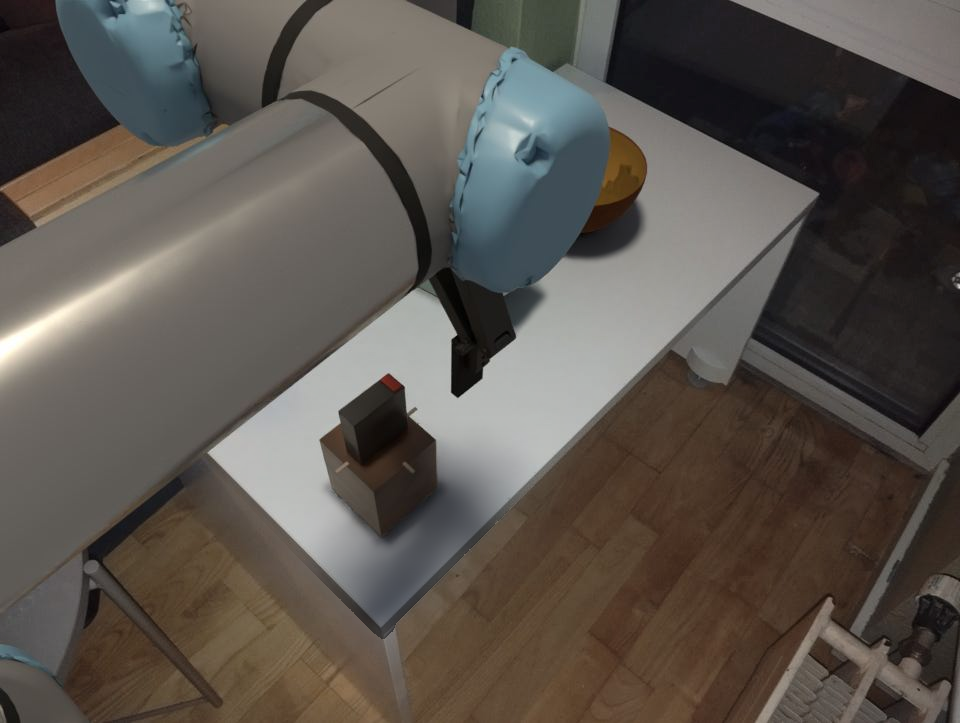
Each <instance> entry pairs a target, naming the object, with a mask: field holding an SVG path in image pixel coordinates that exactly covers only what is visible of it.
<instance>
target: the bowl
mask: <svg viewBox="0 0 960 723" xmlns="http://www.w3.org/2000/svg"><path fill="white" fill-rule="evenodd" d="M609 132H610V152H609V158H608V162H607V167H606V172H605V176H604V180H603V184H602V187H601V190H600V193H599V196H598V199H597V201H596V203H595V205H594V207H593V210H592V212H591V214H590V216H589V218H588V220H587V222H586V224H585V225H584V227H583V229H582V231H581V232H580V234H584V233H591V232H595V231H598V230H601V229H603V228H606V227H608V226H609V225H611V224H612V223H614V222H616V221H617V220H618V219H620V217H622V216H623V215H624V214H625V213H626V212H627V211H628V210H629V209H630V208H631V207H632V205H633V204H634V203H635V202H636V201H637V199H638V197H639V195H640V193H641V192H642V190H643V188H644V186H645V185H644V184H645V182H646V180H647V175H648V162H647V158H646V156H645V154H644V152H643V150H642V149H641V148H640V146H639V145H638V144H637V142H635V141H634V140H633V139H631V137H629V136H628V135H626V134H625V133H623V132H622V131H620V130H618V129H615V128H613V127H611V126H609Z"/></svg>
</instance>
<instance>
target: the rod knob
mask: <svg viewBox="0 0 960 723" xmlns="http://www.w3.org/2000/svg"><path fill="white" fill-rule="evenodd" d="M406 398H407V396H406V388H405V386H404V385H403V384H402V382H400V381H399V380H398V379H397V378H396V377H394V375H392V374H391V373H388V372H387V373H386V374H385V375H384V376H382V377H381V378H379V379H378V380H377V381H376V382H375V383H373V384H372V385H371V386H369V387H368V388H366V389H365V390H364V391H363V392H361V393H360V394H359V395H357V396H356V397H355V398H353V399H352V400H350V401H349V402H348V403H347V404H346V405H344V406H343V407H341V408H340V409H339V410H338V411H337V412H338V417H339V418H338V419H339V423H341V427H342V432H343V436H344V441H345V446H346V451H347V452H348V453H349V454H350V455H351V456H352V457H353V458H354V459H355V460H356V461H357V462H358V463H359V464H360V465H362V464H364V463H365V462H366V461H367V460H369V459H370V458H371V457H372V456H374V455H375V454H376V453H377V452H378V451H380V450H381V449H382V448H383V447H385V446H386V445H387V444H388V443H390V442H391V441H392V440H393V439H394V438H396V437H397V436H398V435H399V434H401V433H402V432H403V431H404V430H406V429H407V428H408V422H407V413H408V411H407V399H406Z"/></svg>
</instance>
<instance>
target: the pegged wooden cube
mask: <svg viewBox="0 0 960 723" xmlns="http://www.w3.org/2000/svg"><path fill="white" fill-rule="evenodd" d="M417 411H418V408H417V406H414V407H413V408H412V409H410V410H409V411H407V422H408V428H407V429H406V430H404V431H403V432H402V433H401V434H399V435H398V436H397V437H396V438H394V439H393V440H392V441H391V442H390V443H388V444H387V445H386V446H385V447H383V448H382V449H381V450H380V451H378V452H377V453H376V454H375V455H374V456H372V457H371V458H370V459H369V460H367V461H366V462H365V463H364V464H362V465H360V464H359V463H358V462H357V461H356V460H355V459H354V458H353V457H352V456H351V455H350V454H349V453H348V452H347V451H346V446H345V441H344V436H343V432H342V427H341V422H339V424H337V425H336V426H335V427H333V428H332V429H331V430H330V431H328V432H327V433H326V434H324V435H323V436H322V437H321V438H319V439H318V441H319V445H320V448H321V452H322V456H323V460H324V464H325V467H326V470H327V475H328V480H329V483H330V487H331V489H332V490H333V491H334V492H335V494H336V495H338V496H339V497H340V498H341V499H342V500H343V501H344V502H345V503H346V504H347V505H348V506H349V507H350V508H351V509H352V510H353V511H354V512H355V513H356V514H357V515H358V516H359V517H360V518H361V519H362V520H363V521H364V522H365V523H366V524H367V525H368V526H369V527H370V528H371V529H372V530H373V531H374V532H375V533H376V534H377V535H378V536H379V537H380V538H383V537H384V536H385V535H386V534H388V532H390V531H392V529H394V528H395V526H396V525H398V524H399V523H400V522H401V521H402V520H403V519H405V518H406V517H407V516H408V515H409V514H410V513H412V511H414V510H415V509H416V508H417V507H418V506H419V505H421V504H422V502H424V501H425V500H426V499H427V498H428V497H429V496H431V495H432V494H433V493H434V492H435V491H436V490H437V489H438V463H437V462H438V461H437V460H438V458H437V457H438V456H437V439H436V438H434V437H433V435H431V434H430V433H429V432H428V431H427V430H425V429H424V428H423V427H422V426H421V425H420V424H419V423H418V422H416V420H415V419H413V418H412V417H411V416H412V415H413V414H414V413H415V412H417Z"/></svg>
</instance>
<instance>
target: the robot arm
mask: <svg viewBox="0 0 960 723" xmlns="http://www.w3.org/2000/svg"><path fill="white" fill-rule="evenodd" d="M457 6H458V0H55V11H56V15H57V20H58V24H59V27H60V30H61V33H62V35H63V37H64V40H65V42H66V45H67V47H68V50H69V52H70V54H71V56H72V58H73V60H74V61H75V63H76V65H77V67H78V69H79V71H80V72H81V74H82V76H83V77H84V79H85V80H86V82H87V84H88V85H89V87H90V88H91V90H92V91H93V93H94V94H95V96H96V97H97V98H98V99H99V101H100V102H101V104H102V105H103V106H104V108H106V110H107V111H108V112H109V113H110V115H111V116H112V117H114V119H115V120H116V121H117V122H118V123H119V124H120V125H121V126H122V127H123V128H124V129H126V131H128V132H129V133H130V134H132V135H133V136H134V137H135V138H137V139H138V140H140V141H142V142H144V143H146V144H148V145H149V146H153V147H164V148H165V147H166V148H167V147H171V148H175V147H179V146H181V145H183V144H186V143H187V142H190V141H193V140H195V139H198V138H202V137H204V136H205V138H204V139H201V140H200V141H197V142H196V143H194V144H192V145H190V146H189V147H186V148H184V149H183V150H181V151H179V152H176V153H175V154H173V155H171V156H170V157H167V158H165V159H164V160H162V161H159V162H158V163H156V164H154V165H152V166H151V167H149V168H147V169H145V170H143V171H141V172H139V173H137V174H136V175H134V176H132V177H130V178H127V179H126V180H124V181H122V182H120V183H118V184H116V185H115V186H113V187H110V188H109V189H107V190H105V191H103V192H102V193H101V192H100V193H99V194H97V195H96V196H94V197H92V198H90V199H88V200H86V201H85V202H83V203H81V204H79V205H77V206H75V207H73V208H71V209H69V210H67V211H65V212H64V213H62V214H59V215H58V216H56V217H54V218H51V219H50V220H49V221H47V222H45V223H43V224H41V225H39V226H37V227H35V228H33V229H32V230H29V231H28V232H26V233H24V234H22V235H19V236H18V237H16V238H14V239H12V240H11V241H8V242H7V243H5V244H3V245H0V617H1V616H2V615H3V614H5V613H6V612H7V611H8V610H9V609H11V608H12V607H14V606H15V605H16V604H17V603H18V602H20V601H21V600H22V599H23V598H25V597H26V596H27V595H29V594H30V593H31V592H32V591H34V590H35V589H36V588H38V587H39V586H40V585H41V584H43V583H44V582H45V581H46V580H48V579H49V578H50V577H51V576H52V575H54V574H55V573H57V572H58V571H60V569H62V568H63V567H64V566H66V565H67V564H68V563H69V562H70V561H72V560H73V559H74V558H76V557H77V556H78V555H79V554H80V553H82V552H83V551H85V550H86V549H87V548H88V547H89V546H91V545H92V544H93V543H95V542H96V541H98V539H100V538H101V537H102V536H103V535H105V534H106V533H107V532H109V531H110V530H111V529H112V528H114V527H115V526H116V525H117V524H119V523H120V522H121V521H122V520H124V519H125V518H126V517H127V516H129V515H131V513H133V512H134V511H135V510H136V509H138V508H139V507H140V506H141V505H143V504H144V503H145V502H147V501H148V500H149V499H151V498H152V497H153V496H154V495H156V494H157V493H158V492H159V491H160V490H162V489H163V488H164V487H166V486H167V485H168V484H170V483H171V482H172V481H173V480H174V479H176V478H177V477H178V476H180V475H181V474H182V473H183V472H184V471H186V470H188V468H190V467H191V466H193V465H194V464H195V463H196V462H197V461H198V460H200V459H202V458H203V457H204V456H205V455H206V454H208V453H209V452H210V451H211V450H213V449H214V448H215V447H216V446H218V445H219V444H220V443H221V442H223V441H224V440H226V439H227V438H228V437H229V436H231V435H232V434H233V433H234V432H236V431H237V430H238V429H239V428H241V427H242V426H243V425H244V424H245V423H247V422H248V421H250V420H251V419H252V418H253V417H254V416H256V415H257V414H258V413H259V412H261V411H262V410H263V409H265V408H266V407H267V406H269V405H270V404H271V403H272V402H274V401H275V400H276V399H277V398H279V397H280V396H281V395H282V394H283V393H285V392H286V391H288V389H290V388H291V387H293V386H294V385H295V384H296V383H298V382H299V381H300V380H302V379H303V378H304V377H305V376H306V375H308V374H309V373H310V372H312V371H313V370H314V369H315V368H317V367H318V366H319V365H321V364H322V363H323V362H324V361H325V360H327V359H328V358H330V356H332V355H333V354H334V353H336V352H337V351H338V350H340V349H341V347H343V346H345V345H346V344H347V343H348V342H350V341H351V340H352V339H353V338H355V337H356V336H357V335H359V333H361V332H362V331H364V330H365V329H366V328H368V327H369V326H370V325H371V324H372V323H374V322H375V321H377V320H378V319H379V318H380V317H381V316H382V315H384V314H385V313H386V312H388V311H389V310H390V309H391V308H393V307H394V306H395V305H396V304H398V303H399V302H400V301H402V300H403V299H404V298H405V297H407V296H409V294H410V293H411V292H413V291H415V290H416V289H417V288H420V287H419V286H420V285H422V284H423V283H424V282H426V281H427V280H428V279H429V281H430V283H431V285H432V287H433V289H434V291H435V293H436V295H437V296H436V297H437V298H438V300H439V303H440V304H441V306H442V308H443V310H444V312H445V314H446V316H447V318H448V320H449V321H450V323H451V325H452V327H453V329H454V331H455V333H456V335H455V336H454V337H453V338H451V340H450V342H451V343H450V347H451V348H450V355H451V356H450V393H451V394H452V395H453V396H454V397H456V399H459V398H461V397H462V396H463V395H464V394H465V393H466V392H468V391H469V390H470V389H472V388H473V387H474V386H475V385H476V384H478V383H480V382H481V381H482V380H483V378H484V368H485V367H486V366H487V365H488V364H489V363H490V362H491V359H492V358H493V357H495V356H496V355H497V354H498V353H500V352H501V351H502V350H504V349H505V348H506V347H507V346H509V345H510V344H511V343H512V342H514V341H516V339H517V333H516V331H515V326H514V324H513V321H512V318H511V314H510V312H509V308H508V305H507V302H506V299H505V295H504V296H503V292H509V293H512V292H514V291H516V290H517V289H519V288H520V289H525V288H527V287H530V286H531V285H534V284H536V283H537V282H539V281H541V279H543V278H544V277H546V276H547V274H548V273H550V272H551V271H552V270H553V269H554V268H555V267H556V266H557V264H558V263H559V262H560V261H561V260H562V259H563V258H564V257H565V255H566V254H567V253H568V252H569V250H570V249H571V248H572V246H573V245H574V243H575V242H576V240H577V238H578V237H579V236H580V234H581V233H580V232H581V231H582V229H583V227H584V225H585V224H586V222H587V220H588V218H589V216H590V214H591V212H592V210H593V207H594V205H595V203H596V201H597V199H598V196H599V193H600V190H601V187H602V184H603V180H604V176H605V172H606V167H607V162H608V158H609V152H610V132H609V127H610V126H609V122H608V119H607V115H606V113H605V111H604V109H603V108H602V106H601V104H600V103H599V101H598V100H597V99H596V98H595V97H594V96H593V95H591V93H589V92H588V91H586V90H585V89H583V88H581V87H579V86H578V85H576V84H575V83H572V82H571V81H569V80H567V79H565V78H564V77H562V76H561V75H558V74H557V73H555V72H553V71H551V70H550V69H548V68H546V67H545V66H543V65H542V64H540V63H538V62H536V61H534V60H533V59H531V58H530V57H529V55H528V53H527V52H525V50H523V49H520V48H518V47H515V46H510V47H507V46H506V45H504V44H501V43H499V42H496V41H494V40H492V39H490V38H488V37H485V36H483V35H481V34H479V33H477V32H475V31H473V30H470V29H468V28H466V27H465V26H462V25H460V24H457ZM221 125H226V127H224V128H221V130H218V131H217V132H215V133H214V130H215V129H217V128H218V127H220V126H221ZM0 723H91V721H90V720H89V719H88V717H86V715H85V714H84V713H83V712H82V711H81V709H80V708H79V706H77V704H75V702H74V701H73V699H71V697H70V696H69V695H68V693H67V692H66V690H65V688H64V685H63V684H62V681H61V680H59V678H58V676H56V675H55V674H54V673H53V671H52V670H51V669H49V668H48V667H47V666H45V665H44V664H42V663H41V662H39V661H38V660H37V659H36V658H35V657H34V656H33V655H31V654H30V653H28V652H27V651H25V650H23V649H21V648H19V647H17V646H13V645H9V644H4V643H0Z"/></svg>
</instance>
